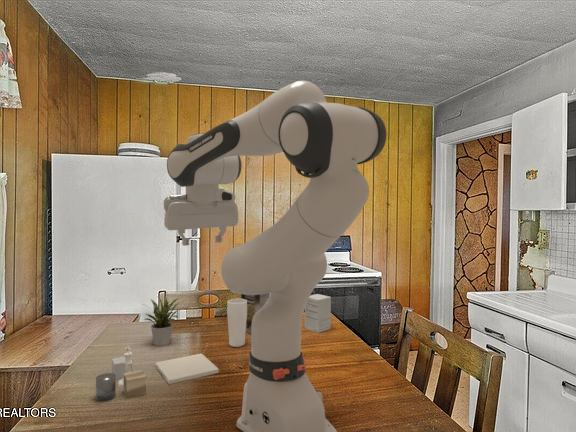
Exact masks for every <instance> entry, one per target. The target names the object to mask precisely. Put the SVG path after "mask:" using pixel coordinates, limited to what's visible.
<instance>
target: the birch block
mask: <svg viewBox="0 0 576 432" xmlns="http://www.w3.org/2000/svg"><path fill="white" fill-rule="evenodd" d="M123 392H124V395H125V397H126V399H130V398H134V397H138V396H143V395H146V394H147V375H146V374H145V371H143V369H140V370H135V371H134V370H133V371H132V372H129V373H124V388H123Z"/></svg>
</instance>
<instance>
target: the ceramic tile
mask: <svg viewBox="0 0 576 432" xmlns="http://www.w3.org/2000/svg"><path fill="white" fill-rule="evenodd" d="M155 367H156V369H157V370H158V371H159V373H160V374H161V376H162V378H164V380H165V381H166V383H167V384H168V385H173V384H176V383H179V382H184V381H189V380H193V379H197V378H198V379H199V378H202V377H206V376H207V377H208V376H211V375H215V374H219V372H220V370H219V368H218V367H217V366H216V365H215V364H214V363H213V362H212V361H211V360H210V359H209V358H208V357H206V356H205V355H204V354H203V353H196V354H192V355H188V356H183V357H176V358H172V359H167V360H162V361H157V362H155Z"/></svg>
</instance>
